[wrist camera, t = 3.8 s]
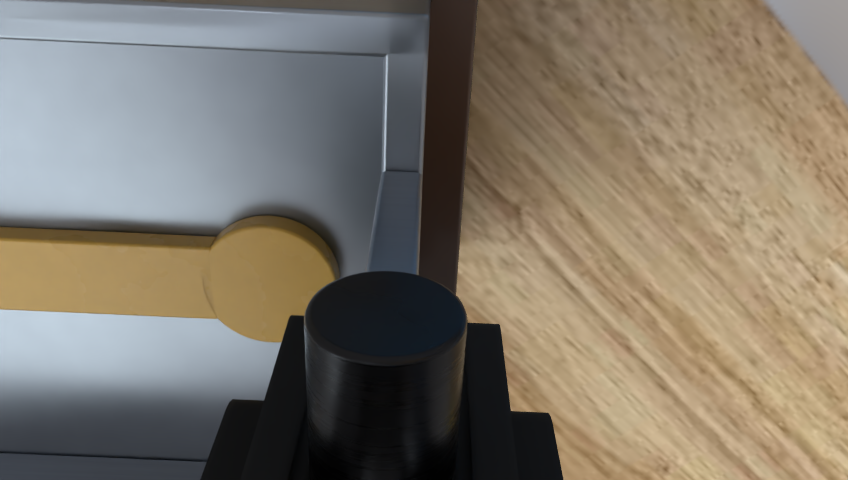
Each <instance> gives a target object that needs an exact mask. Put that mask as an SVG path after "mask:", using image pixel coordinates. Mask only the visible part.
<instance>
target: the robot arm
mask: <svg viewBox="0 0 848 480" xmlns="http://www.w3.org/2000/svg"><path fill="white" fill-rule="evenodd" d="M200 480H310V465H309V440H308V414H307V389H306V364H305V338H304V316H302V315H291V316H290V317H289V319H288V323H287V326H286V329H285V333H284V336H283V339H282V342H281V346H280V349H279V352H278V356H277V359H276V362H275V366H274V369H273V372H272V376H271V379H270V382H269V386H268V389H267V392H266V396H265V399H264V400H241V399H232V400H231V401H230V402H229V404H228V406H227V408H226V410H225V413H224V415H223V418H222V421H221V424H220V427H219V429H218V432H217V435H216V438H215V440H214V443H213V446H212V449H211V451H210V454H209V457H208V460H207V462H206V465H205V468H204V471H203V473H202V476H201V479H200ZM454 480H563V476H562V470H561V465H560V460H559V455H558V449H557V444H556V439H555V434H554V428H553V423H552V420H551V416H550V415H549V413H539V412H516V411H511V410H510V402H509V393H508V385H507V377H506V369H505V361H504V353H503V345H502V337H501V329H500V325H499V324H482V323H467V335H466V346H465V358H464V370H463V382H462V393H461V405H460V417H459V428H458V440H457V452H456V463H455V475H454Z"/></svg>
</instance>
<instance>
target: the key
mask: <svg viewBox="0 0 848 480" xmlns="http://www.w3.org/2000/svg"><path fill="white" fill-rule="evenodd" d="M337 279H340V272H339V267H338V263H337V261H336V258H335V256H334V254H333V252H332V251H331V249H330V248H329V246H328V245H327V244H326V242H325V241H324V240H323V239H322V238H321V237H320V236H319V235H318V234H317V233H315V232H314V231H313V230H311V229H310V228H308V227H307V226H305V225H303V224H301V223H299V222H297V221H294V220H291V219H288V218H284V217H279V216H270V215H268V216H254V217H249V218H245V219H242V220H239V221H237V222H235V223H233V224H231V225H229V226H228V227H226V228H225V229H224V230H223V231H221V232H220V233H219V234H218V236H217V237H214V236H192V235H170V234H148V233H126V232H104V231H82V230H60V229H38V228H16V227H0V309H2V310H24V311H47V312H69V313H92V314H114V315H136V316H159V317H181V318H204V319H219V320H220V321H221V322H222V323H223V324H224V325H226V326H227V327H228V328H230V329H231V330H233V331H235V332H236V333H238V334H240V335H243V336H245V337H247V338H251V339H254V340H258V341H263V342H282V339H283V336H284V333H285V329H286V326H287V323H288V319H289V317H290V316H291V315H302V316H304V314H305V311H306V308H307V306H308V304H309V302H310V300H311V299H312V297H313V296H314V295H315V294H316V293H317V292H318V291H319V290H320V289H321V288H323V287H324V286H326V285H327V284H329V283H331V282H333V281H335V280H337Z"/></svg>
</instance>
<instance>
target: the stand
mask: <svg viewBox="0 0 848 480" xmlns="http://www.w3.org/2000/svg"><path fill="white" fill-rule="evenodd" d="M477 5H478V0H431V5H430V28H429V50H428V72H427V93H426V115H425V137H424V158H423V181H422V204H421V228H420V251H419V274H418V275H420V276H423V277H427V278H429V279H432V280H434V281H436V282H438V283H440V284H442V285H444V286H445V287H447V288H448V289H450V290H451V291H452V292H453V293H454V294H455V295H456V285H457V272H458V259H459V245H460V232H461V219H462V205H463V192H464V179H465V165H466V152H467V138H468V125H469V112H470V98H471V85H472V72H473V58H474V45H475V32H476V18H477Z"/></svg>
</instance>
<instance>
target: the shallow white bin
mask: <svg viewBox="0 0 848 480" xmlns="http://www.w3.org/2000/svg"><path fill="white" fill-rule="evenodd" d="M430 5H431V0H0V227H16V228H38V229H60V230H82V231H104V232H126V233H148V234H170V235H192V236H214V237H217V236H218V234H219V233H220V232H221V231H223V230H224V229H225V228H226V227H228V226H229V225H231V224H233V223H235V222H237V221H239V220H242V219H245V218H249V217H254V216H268V215H270V216H279V217H284V218H288V219H291V220H294V221H297V222H299V223H301V224H303V225H305V226H307V227H308V228H310V229H311V230H313V231H314V232H315V233H317V234H318V235H319V236H320V237H321V238H322V239H323V240H324V241H325V242H326V244H327V245H328V246H329V248H330V249H331V251H332V252H333V254H334V256H335V258H336V261H337V263H338V267H339V272H340V279H337V280H335V281H333V282H331V283H329V284H327V285H326V286H324V287H323V288H321V289H320V290H319V291H318V292H317V293H316V294H315V295H314V296H313V297H312V299H311V300H310V302H309V304H308V306H307V308H306V311H305V314H304V338H305V364H306V389H307V414H308V440H309V465H310V480H454V475H455V463H456V452H457V440H458V428H459V417H460V405H461V393H462V382H463V370H464V358H465V346H466V335H467V321H468V320H467V314H466V311H465V309H464V307H463V304H462V302H461V301H460V299H459V298H458V297H457V296H456V295H455V294H454V293H453V292H452V291H451V290H450V289H448V288H447V287H445V286H444V285H442V284H440V283H438V282H436V281H434V280H432V279H429V278H427V277H423V276H420V275H418V274H419V251H420V228H421V204H422V181H423V158H424V137H425V115H426V93H427V72H428V50H429V28H430ZM280 346H281V342H263V341H258V340H254V339H251V338H247V337H245V336H243V335H240V334H238V333H236V332H235V331H233V330H231V329H230V328H228V327H227V326H226V325H224V324H223V323H222V322H221V321H220V320H219V319H204V318H181V317H159V316H136V315H114V314H92V313H69V312H47V311H24V310H2V309H0V480H200V479H201V476H202V473H203V471H204V468H205V465H206V462H207V460H208V457H209V454H210V451H211V449H212V446H213V443H214V440H215V438H216V435H217V432H218V429H219V427H220V424H221V421H222V418H223V415H224V413H225V410H226V408H227V406H228V404H229V402H230V401H231V400H232V399H241V400H264V399H265V396H266V392H267V389H268V386H269V382H270V379H271V376H272V372H273V369H274V366H275V362H276V359H277V356H278V352H279V349H280Z"/></svg>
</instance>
